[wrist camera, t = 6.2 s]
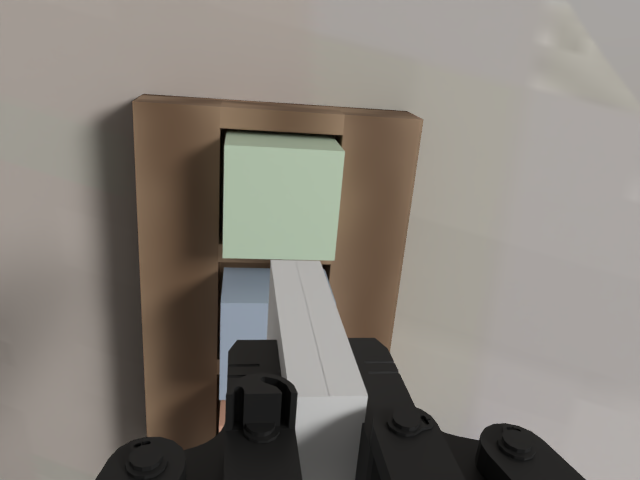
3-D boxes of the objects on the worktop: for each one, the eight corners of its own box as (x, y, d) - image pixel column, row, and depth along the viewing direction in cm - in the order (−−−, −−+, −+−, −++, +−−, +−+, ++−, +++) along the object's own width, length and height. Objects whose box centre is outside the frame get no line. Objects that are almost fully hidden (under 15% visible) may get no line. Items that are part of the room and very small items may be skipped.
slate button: (222, 354, 30) (219, 400, 27) (224, 267, 28) (220, 303, 25) (317, 354, 31) (327, 398, 27) (324, 269, 29) (336, 304, 26)
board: (156, 437, 35) (148, 472, 33) (143, 94, 28) (132, 101, 25) (363, 432, 37) (373, 464, 35) (406, 111, 30) (423, 119, 27)
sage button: (225, 229, 29) (222, 258, 26) (227, 129, 27) (224, 145, 24) (323, 232, 30) (334, 260, 26) (331, 135, 28) (344, 151, 24)
